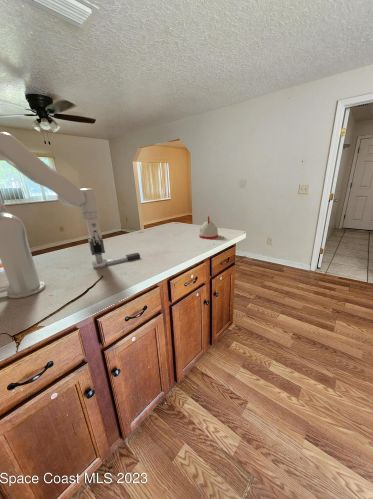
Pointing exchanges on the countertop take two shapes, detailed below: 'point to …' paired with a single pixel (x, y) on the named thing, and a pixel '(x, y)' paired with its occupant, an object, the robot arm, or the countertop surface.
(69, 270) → the countertop surface
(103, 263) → the ratchet
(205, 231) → the grey bell
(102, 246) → the socket
